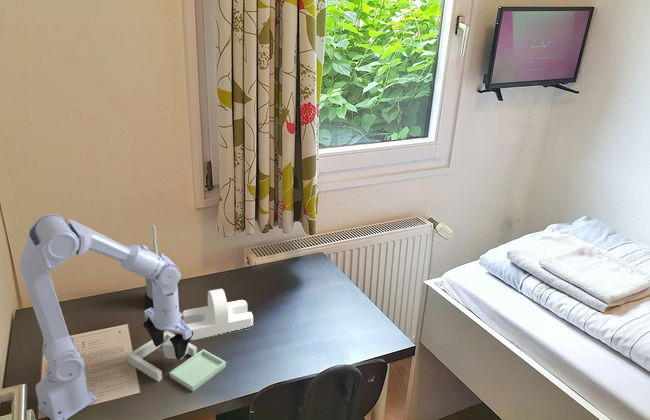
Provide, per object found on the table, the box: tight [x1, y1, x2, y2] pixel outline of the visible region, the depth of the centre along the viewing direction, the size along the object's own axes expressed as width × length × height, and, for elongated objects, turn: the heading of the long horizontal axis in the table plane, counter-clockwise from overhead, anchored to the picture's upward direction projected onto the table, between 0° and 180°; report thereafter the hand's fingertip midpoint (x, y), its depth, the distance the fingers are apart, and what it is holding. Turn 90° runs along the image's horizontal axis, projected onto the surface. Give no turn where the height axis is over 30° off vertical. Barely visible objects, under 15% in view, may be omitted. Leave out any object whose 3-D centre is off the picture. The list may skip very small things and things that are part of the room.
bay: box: [127, 331, 198, 383], centre depth 130 cm, size 12×11×2 cm
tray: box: [169, 348, 227, 393], centre depth 127 cm, size 11×8×2 cm
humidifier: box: [144, 225, 159, 309], centre depth 148 cm, size 8×8×25 cm
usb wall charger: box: [156, 337, 189, 360], centre depth 128 cm, size 4×7×4 cm, turn 75°
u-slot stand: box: [182, 288, 254, 341], centre depth 143 cm, size 10×18×11 cm, turn 114°
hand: (169, 350), depth 128 cm, fingers closed on usb wall charger, 7 cm apart
